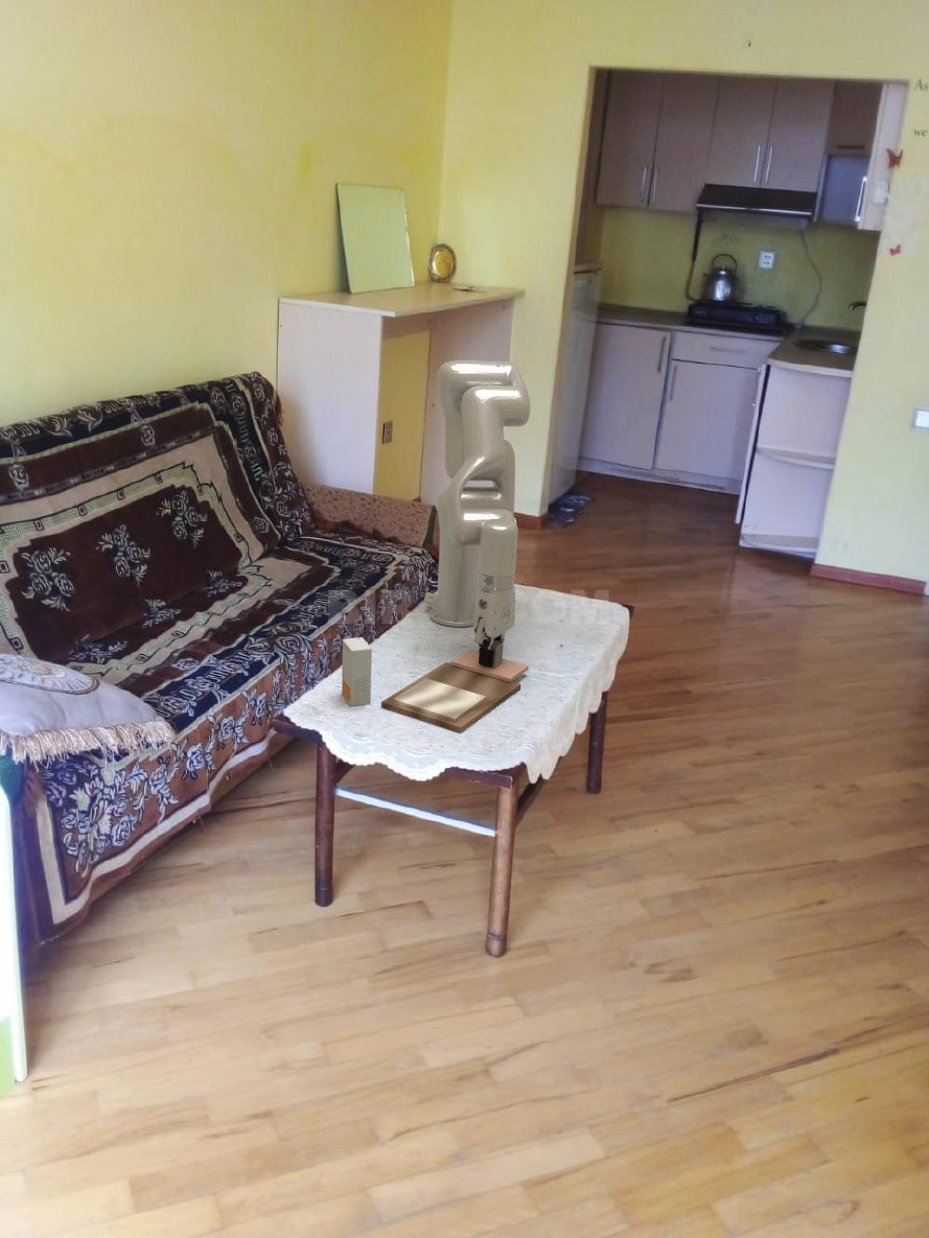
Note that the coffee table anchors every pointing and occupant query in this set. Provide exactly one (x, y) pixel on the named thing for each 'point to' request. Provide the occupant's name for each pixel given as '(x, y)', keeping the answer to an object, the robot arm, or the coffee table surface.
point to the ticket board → (451, 697)
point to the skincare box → (356, 671)
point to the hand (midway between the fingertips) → (490, 661)
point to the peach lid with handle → (500, 666)
